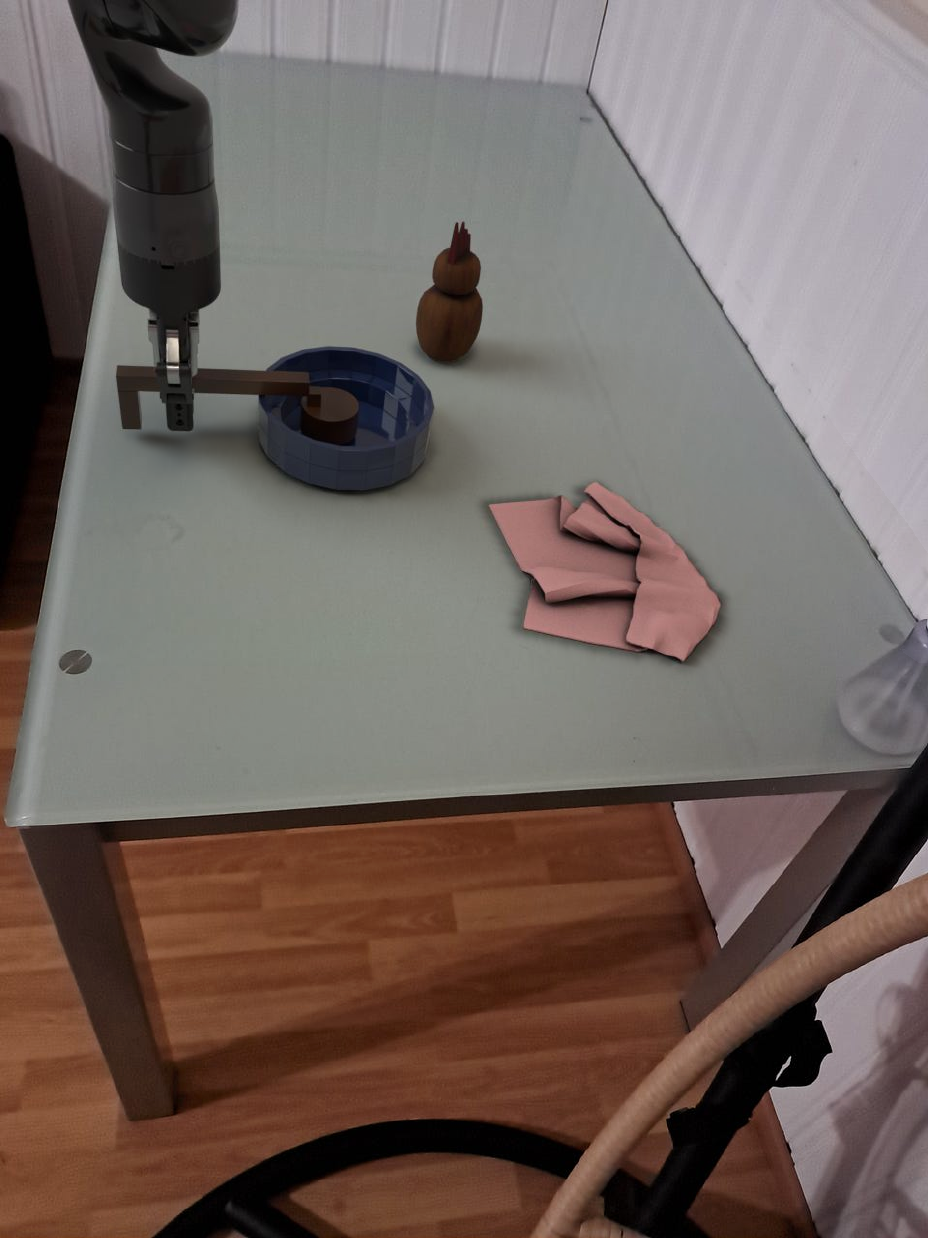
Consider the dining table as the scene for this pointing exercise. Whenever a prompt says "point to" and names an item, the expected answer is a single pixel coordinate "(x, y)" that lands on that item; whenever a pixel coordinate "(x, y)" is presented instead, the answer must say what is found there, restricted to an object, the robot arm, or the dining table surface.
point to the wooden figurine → (451, 302)
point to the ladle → (321, 407)
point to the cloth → (607, 575)
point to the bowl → (385, 424)
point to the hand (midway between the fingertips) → (180, 420)
